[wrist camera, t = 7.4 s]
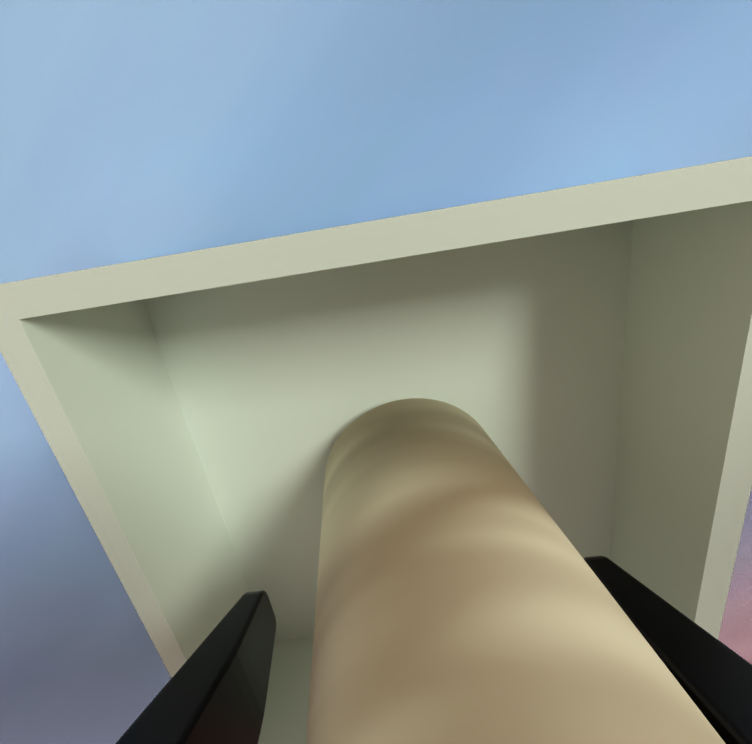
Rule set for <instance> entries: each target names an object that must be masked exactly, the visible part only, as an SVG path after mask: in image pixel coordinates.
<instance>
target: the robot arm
mask: <svg viewBox="0 0 752 744" xmlns="http://www.w3.org/2000/svg"><path fill="white" fill-rule="evenodd" d="M583 559H584V560H585V562H586V563H587V564H588V566H589V567H590V568H591V569H592V571H593V572H594V573H595V575H596V576H597V577H598V578H599V580H600V581H601V582H602V584H603V585H604V586H605V588H606V589H607V590H608V591H609V593H610V594H611V595H612V597H613V598H614V599H615V601H616V602H617V603H618V604H619V606H620V607H621V608H622V610H623V611H624V612H625V614H626V615H627V616H628V617H629V619H630V620H631V621H632V623H633V624H634V625H635V627H636V628H637V629H638V630H639V632H640V633H641V634H642V636H643V637H644V638H645V640H646V641H647V642H648V643H649V645H650V646H651V647H652V649H653V650H654V651H655V653H656V654H657V655H658V656H659V658H660V659H661V660H662V662H663V663H664V664H665V666H666V667H667V668H668V669H669V671H670V672H671V673H672V675H673V676H674V677H675V678H676V680H677V681H678V682H679V684H680V685H681V686H682V688H683V689H684V690H685V691H686V693H687V694H688V695H689V697H690V698H691V699H692V701H693V702H694V703H695V704H696V706H697V707H698V708H699V710H700V711H701V712H702V714H703V715H704V716H705V717H706V719H707V720H708V721H709V723H710V724H711V725H712V727H713V728H714V729H715V730H716V732H717V733H718V734H719V736H720V737H721V738H722V740H723V741H724V742H725V743H726V744H752V665H751V664H750V663H749V662H747V661H746V660H745V659H743V658H742V657H740V656H739V655H738V654H736V653H735V652H734V651H732V650H731V649H730V648H728V647H727V646H726V645H724V644H723V643H722V642H720V641H719V640H718V639H716V638H715V637H714V636H712V635H711V634H710V633H708V632H707V631H706V630H704V629H703V628H701V627H700V626H699V625H697V624H696V623H695V622H693V621H692V620H691V619H689V618H688V617H687V616H685V615H684V614H683V613H681V612H680V611H679V610H677V609H676V608H675V607H673V606H672V605H671V604H669V603H668V602H666V601H665V600H664V599H662V598H661V597H660V596H658V595H657V594H656V593H654V592H653V591H652V590H650V589H649V588H648V587H646V586H645V585H644V584H642V583H641V582H640V581H638V580H637V579H636V578H634V577H633V576H632V575H630V574H629V573H627V572H626V571H625V570H623V569H622V568H621V567H619V566H618V565H617V564H615V563H614V562H613V561H611V560H610V559H609V558H607V557H605V556H591V557H585V558H583ZM275 633H276V617H275V614H274V611H273V608H272V606H271V603H270V600H269V597H268V594H267V593H266V592H265V591H264V590H259V591H249V592H246V593H245V594H243V595H242V597H241V598H240V599H239V600H238V601H237V602H236V604H235V605H234V606H233V607H232V608H231V609H230V611H229V612H228V613H227V614H226V615H225V616H224V618H223V619H222V620H221V621H220V622H219V623H218V625H217V626H216V627H215V628H214V629H213V630H212V632H211V633H210V634H209V635H208V636H207V637H206V639H205V640H204V641H203V642H202V643H201V644H200V646H199V647H198V648H197V649H196V650H195V651H194V653H193V654H192V655H191V656H190V657H189V658H188V660H187V661H186V662H185V663H184V664H183V665H182V667H181V668H180V669H179V670H178V671H177V673H176V674H175V675H174V676H173V677H172V678H171V680H170V681H169V682H168V683H167V684H166V685H165V687H164V688H163V689H162V690H161V691H160V692H159V694H158V695H157V696H156V697H155V698H154V699H153V701H152V702H151V703H150V704H149V705H148V706H147V708H146V709H145V710H144V711H143V712H142V713H141V715H140V716H139V717H138V718H137V719H136V720H135V722H134V723H133V724H132V725H131V726H130V727H129V729H128V730H127V731H126V732H125V733H124V734H123V736H122V737H121V738H120V739H119V740H118V741H117V743H116V744H258V741H259V736H260V732H261V727H262V722H263V717H264V711H265V705H266V698H267V691H268V684H269V677H270V669H271V662H272V655H273V648H274V640H275Z"/></svg>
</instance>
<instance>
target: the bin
mask: <svg viewBox="0 0 752 744" xmlns="http://www.w3.org/2000/svg"><path fill="white" fill-rule="evenodd" d="M0 352H1V354H2V355H3V357H4V359H5V361H6V363H7V365H8V367H9V369H10V371H11V373H12V375H13V376H14V378H15V380H16V382H17V384H18V386H19V388H20V390H21V392H22V394H23V396H24V397H25V399H26V401H27V403H28V405H29V407H30V409H31V411H32V413H33V415H34V416H35V418H36V420H37V422H38V424H39V426H40V428H41V430H42V432H43V434H44V436H45V437H46V439H47V441H48V443H49V445H50V447H51V449H52V451H53V453H54V455H55V457H56V458H57V460H58V462H59V464H60V466H61V468H62V470H63V472H64V474H65V476H66V478H67V479H68V481H69V483H70V485H71V487H72V489H73V491H74V493H75V495H76V497H77V499H78V500H79V502H80V504H81V506H82V508H83V510H84V512H85V514H86V516H87V518H88V520H89V521H90V523H91V525H92V527H93V529H94V531H95V533H96V535H97V537H98V539H99V541H100V542H101V544H102V546H103V548H104V550H105V552H106V554H107V556H108V558H109V560H110V562H111V563H112V565H113V567H114V569H115V571H116V573H117V575H118V577H119V579H120V581H121V583H122V584H123V586H124V588H125V590H126V592H127V594H128V596H129V598H130V600H131V602H132V604H133V605H134V607H135V609H136V611H137V613H138V615H139V617H140V619H141V621H142V623H143V624H144V626H145V628H146V630H147V632H148V634H149V636H150V638H151V640H152V642H153V644H154V645H155V647H156V649H157V651H158V653H159V655H160V657H161V659H162V661H163V663H164V665H165V666H166V668H167V670H168V672H169V674H170V676H171V678H172V677H173V676H174V675H175V674H176V673H177V671H178V670H179V669H180V668H181V667H182V665H183V664H184V663H185V662H186V661H187V660H188V658H189V657H190V656H191V655H192V654H193V653H194V651H195V650H196V649H197V648H198V647H199V646H200V644H201V643H202V642H203V641H204V640H205V639H206V637H207V636H208V635H209V634H210V633H211V632H212V630H213V629H214V628H215V627H216V626H217V625H218V623H219V622H220V621H221V620H222V619H223V618H224V616H225V615H226V614H227V613H228V612H229V611H230V609H231V608H232V607H233V606H234V605H235V604H236V602H237V601H238V600H239V599H240V598H241V597H242V595H243V594H245V593H246V592H249V591H259V590H264V591H265V592H266V593H267V594H268V597H269V600H270V603H271V606H272V608H273V611H274V614H275V617H276V633H275V640H274V648H273V655H272V662H271V669H270V677H269V684H268V691H267V698H266V705H265V711H264V717H263V722H262V727H261V732H260V736H259V741H258V744H306V737H307V723H308V709H309V694H310V680H311V666H312V651H313V637H314V623H315V608H316V594H317V580H318V565H319V551H320V536H321V522H322V508H323V493H324V479H325V470H326V464H327V461H328V457H329V454H330V452H331V450H332V448H333V446H334V444H335V442H336V441H337V439H338V438H339V436H340V435H341V434H342V433H343V432H344V430H345V429H346V428H347V427H348V426H349V425H350V424H351V423H352V422H354V421H355V420H356V419H357V418H359V417H360V416H361V415H363V414H364V413H366V412H368V411H370V410H371V409H373V408H375V407H377V406H380V405H383V404H385V403H388V402H392V401H396V400H401V399H410V398H425V399H433V400H438V401H442V402H446V403H448V404H451V405H453V406H456V407H458V408H459V409H461V410H463V411H465V412H466V413H467V414H469V415H470V416H471V417H473V418H474V419H475V420H476V421H477V422H478V423H479V424H480V425H481V427H482V428H483V429H484V430H485V432H486V433H487V434H488V436H489V437H490V438H491V440H492V441H493V442H494V443H495V445H496V446H497V447H498V449H499V450H500V451H501V453H502V454H503V455H504V456H505V458H506V459H507V460H508V462H509V463H510V464H511V466H512V467H513V468H514V469H515V471H516V472H517V473H518V475H519V476H520V477H521V478H522V480H523V481H524V482H525V484H526V485H527V486H528V488H529V489H530V490H531V491H532V493H533V494H534V495H535V497H536V498H537V499H538V501H539V502H540V503H541V504H542V506H543V507H544V508H545V510H546V511H547V512H548V514H549V515H550V516H551V517H552V519H553V520H554V521H555V523H556V524H557V525H558V527H559V528H560V529H561V530H562V532H563V533H564V534H565V536H566V537H567V538H568V540H569V541H570V542H571V543H572V545H573V546H574V547H575V549H576V550H577V551H578V553H579V554H580V555H581V556H582V558H585V557H591V556H605V557H607V558H609V559H610V560H611V561H613V562H614V563H615V564H617V565H618V566H619V567H621V568H622V569H623V570H625V571H626V572H627V573H629V574H630V575H632V576H633V577H634V578H636V579H637V580H638V581H640V582H641V583H642V584H644V585H645V586H646V587H648V588H649V589H650V590H652V591H653V592H654V593H656V594H657V595H658V596H660V597H661V598H662V599H664V600H665V601H666V602H668V603H669V604H671V605H672V606H673V607H675V608H676V609H677V610H679V611H680V612H681V613H683V614H684V615H685V616H687V617H688V618H689V619H691V620H692V621H693V622H695V623H696V624H697V625H699V626H700V627H701V628H703V629H704V630H706V631H707V632H708V633H710V634H711V635H712V636H714V637H715V638H716V639H718V637H719V632H720V628H721V623H722V619H723V614H724V610H725V605H726V601H727V596H728V592H729V587H730V583H731V578H732V574H733V569H734V564H735V560H736V555H737V551H738V546H739V542H740V537H741V533H742V528H743V524H744V519H745V515H746V510H747V506H748V501H749V497H750V492H751V488H752V156H751V157H745V158H739V159H733V160H728V161H722V162H716V163H710V164H704V165H698V166H692V167H686V168H680V169H675V170H669V171H663V172H657V173H651V174H645V175H639V176H633V177H627V178H622V179H616V180H610V181H604V182H598V183H592V184H586V185H580V186H574V187H569V188H563V189H557V190H551V191H545V192H539V193H533V194H527V195H521V196H515V197H510V198H504V199H498V200H492V201H486V202H480V203H474V204H468V205H462V206H457V207H451V208H445V209H439V210H433V211H427V212H421V213H415V214H409V215H404V216H398V217H392V218H386V219H380V220H374V221H368V222H362V223H356V224H351V225H345V226H339V227H333V228H327V229H321V230H315V231H309V232H303V233H298V234H292V235H286V236H280V237H274V238H268V239H262V240H256V241H250V242H245V243H239V244H233V245H227V246H221V247H215V248H209V249H203V250H197V251H191V252H186V253H180V254H174V255H168V256H162V257H156V258H150V259H144V260H138V261H133V262H127V263H121V264H115V265H109V266H103V267H97V268H91V269H85V270H80V271H74V272H68V273H62V274H56V275H50V276H44V277H38V278H32V279H27V280H21V281H15V282H9V283H3V284H0Z"/></svg>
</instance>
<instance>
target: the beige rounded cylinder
mask: <svg viewBox="0 0 752 744" xmlns="http://www.w3.org/2000/svg"><path fill="white" fill-rule="evenodd" d="M306 744H726V743H725V742H724V741H723V740H722V738H721V737H720V736H719V734H718V733H717V732H716V730H715V729H714V728H713V727H712V725H711V724H710V723H709V721H708V720H707V719H706V717H705V716H704V715H703V714H702V712H701V711H700V710H699V708H698V707H697V706H696V704H695V703H694V702H693V701H692V699H691V698H690V697H689V695H688V694H687V693H686V691H685V690H684V689H683V688H682V686H681V685H680V684H679V682H678V681H677V680H676V678H675V677H674V676H673V675H672V673H671V672H670V671H669V669H668V668H667V667H666V666H665V664H664V663H663V662H662V660H661V659H660V658H659V656H658V655H657V654H656V653H655V651H654V650H653V649H652V647H651V646H650V645H649V643H648V642H647V641H646V640H645V638H644V637H643V636H642V634H641V633H640V632H639V630H638V629H637V628H636V627H635V625H634V624H633V623H632V621H631V620H630V619H629V617H628V616H627V615H626V614H625V612H624V611H623V610H622V608H621V607H620V606H619V604H618V603H617V602H616V601H615V599H614V598H613V597H612V595H611V594H610V593H609V591H608V590H607V589H606V588H605V586H604V585H603V584H602V582H601V581H600V580H599V578H598V577H597V576H596V575H595V573H594V572H593V571H592V569H591V568H590V567H589V566H588V564H587V563H586V562H585V560H584V559H583V558H582V556H581V555H580V554H579V553H578V551H577V550H576V549H575V547H574V546H573V545H572V543H571V542H570V541H569V540H568V538H567V537H566V536H565V534H564V533H563V532H562V530H561V529H560V528H559V527H558V525H557V524H556V523H555V521H554V520H553V519H552V517H551V516H550V515H549V514H548V512H547V511H546V510H545V508H544V507H543V506H542V504H541V503H540V502H539V501H538V499H537V498H536V497H535V495H534V494H533V493H532V491H531V490H530V489H529V488H528V486H527V485H526V484H525V482H524V481H523V480H522V478H521V477H520V476H519V475H518V473H517V472H516V471H515V469H514V468H513V467H512V466H511V464H510V463H509V462H508V460H507V459H506V458H505V456H504V455H503V454H502V453H501V451H500V450H499V449H498V447H497V446H496V445H495V443H494V442H493V441H492V440H491V438H490V437H489V436H488V434H487V433H486V432H485V430H484V429H483V428H482V427H481V425H480V424H479V423H478V422H477V421H476V420H475V419H474V418H473V417H471V416H470V415H469V414H467V413H466V412H465V411H463V410H461V409H459V408H458V407H456V406H453V405H451V404H448V403H446V402H442V401H438V400H433V399H425V398H410V399H401V400H396V401H392V402H388V403H385V404H383V405H380V406H377V407H375V408H373V409H371V410H370V411H368V412H366V413H364V414H363V415H361V416H360V417H359V418H357V419H356V420H355V421H354V422H352V423H351V424H350V425H349V426H348V427H347V428H346V429H345V430H344V432H343V433H342V434H341V435H340V436H339V438H338V439H337V441H336V442H335V444H334V446H333V448H332V450H331V452H330V454H329V457H328V461H327V464H326V470H325V479H324V493H323V508H322V522H321V536H320V551H319V565H318V580H317V594H316V608H315V623H314V637H313V651H312V666H311V680H310V694H309V709H308V723H307V737H306Z"/></svg>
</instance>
